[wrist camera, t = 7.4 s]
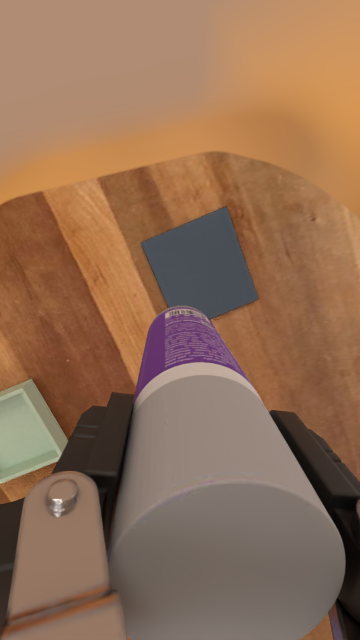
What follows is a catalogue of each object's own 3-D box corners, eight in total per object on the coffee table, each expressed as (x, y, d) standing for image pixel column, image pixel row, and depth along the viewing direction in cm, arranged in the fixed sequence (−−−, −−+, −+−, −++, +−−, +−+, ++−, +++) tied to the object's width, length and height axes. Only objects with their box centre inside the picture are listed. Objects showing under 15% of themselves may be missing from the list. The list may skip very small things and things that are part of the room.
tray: (-44, 409, 38) (-59, 420, 36) (31, 378, 38) (22, 387, 35) (0, 473, 41) (-11, 488, 38) (71, 445, 41) (65, 458, 38)
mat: (141, 242, 35) (140, 242, 34) (225, 206, 34) (226, 206, 34) (178, 330, 37) (178, 331, 37) (257, 298, 37) (258, 299, 37)
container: (133, 340, 20) (40, 596, 5) (180, 290, 19) (232, 421, 4) (182, 382, 21) (223, 704, 6) (228, 337, 20) (403, 571, 5)
